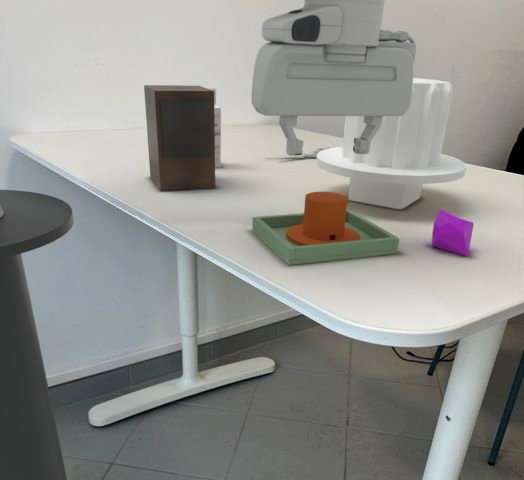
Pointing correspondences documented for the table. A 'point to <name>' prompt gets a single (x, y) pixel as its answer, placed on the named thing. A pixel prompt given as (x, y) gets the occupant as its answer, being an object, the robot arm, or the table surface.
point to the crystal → (452, 233)
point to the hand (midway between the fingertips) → (328, 154)
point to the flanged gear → (398, 151)
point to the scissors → (310, 154)
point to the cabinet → (180, 136)
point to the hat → (323, 221)
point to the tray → (369, 244)
